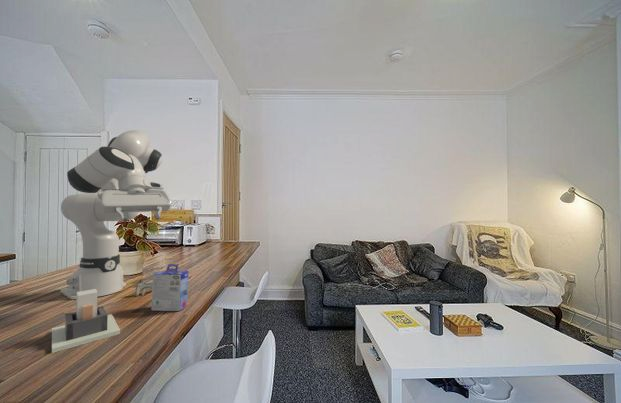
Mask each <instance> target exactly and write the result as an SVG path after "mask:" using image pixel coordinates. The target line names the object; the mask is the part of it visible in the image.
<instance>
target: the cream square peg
mask: <svg viewBox="0 0 621 403" xmlns="http://www.w3.org/2000/svg"><path fill="white" fill-rule="evenodd" d="M97 294H98V292H97V290H96V289H91V290H86V291H80V292H77V299H76V305H75V306H76V309H75V310H76V311H75V312H76V320H78V321H81V320H85V319H89V318H93V317H96V315H97V307H98V297H97Z"/></svg>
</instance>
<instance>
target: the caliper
mask: <svg viewBox="0 0 621 403" xmlns="http://www.w3.org/2000/svg"><path fill="white" fill-rule="evenodd" d="M152 282H153V281H146V280H145V279H142V280H141V279H140V280H139V282H137V283H136V287H135V296H136V297H139V294H140V296H144V295H145V293H147V292H146V291H147V289H149V290H152ZM140 291H141V292H140Z"/></svg>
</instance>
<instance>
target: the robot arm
mask: <svg viewBox="0 0 621 403" xmlns="http://www.w3.org/2000/svg"><path fill="white" fill-rule="evenodd" d="M162 161H163V157H162V153H161V152H160V151H159V150H157V149H155V148H154V149H153V148H152V147H150V139H149V136H148V135H147V134H146V133H145V132H143V131H140V130H138V129H137V130H127V131H124V132H122V133H121V134H119V135H118V136H115V137H113V138H111V139H110V141H108V144H107V146H101V147H98V149H96V150H95V151H94V152H92V153H91V154H90V155H89V156H87V157H86V158H84V159H83V160H82V161H80V162H79V163H78V164H77V165H76V166H73V168H71V169H70V170H68V171H67V173H66V176H67V181H68V183H69V185H70V186H71V188H72V189H74V190H76V191H77V192H80V193H79V194H78V193H77V194H71V195H67V196H65V198H64V199H63V200H62V202H61V204H60V211H61V214H62V215H63V216H64V218H65V219H67V220H68V221H70V222H72V223H73V224H74V225H75V226H76V228H77V229H78V231H79V232H80V235H81V239H82V257H81V258H79V260H80V261H79V267H78V268H77V269H76V270H75V271H74V272H73V273H72V274H71V275H70V276H69V278H68V279H66V286H67V287H63V288H61V289H60V290H59V291H60V293H61V294H62V293H63V294H62V295H63V296H65V297H66V296H67V298H68V299H70V300H77V292H80V291H86V290H91V289H96V290H97V292H98V294H97V298H98V297H103V296H107V295H112V294H115V293H117V292H120V291H122V290H123V289H124V287H125V286H127V282H125V281H124V273H123V272H124V271H123V266H121V265H120V262H121V255H120V252H119V251H120V250H119V249H120V247H119V246H120V238H119V235H118V233H116V232H115V231H112V230H110V229H109V228H108V227H106V225H105V222H128V221H130V220H134V219H135V218H136V217H137V216H138V215H139V214H140V213H142V212H144V213H145V212H154V216H153V217H154V220H160V219H161V214H162V212H167V211H170V209H171V207H172V203H173V202H172V199H171V197H170V195H169V194H168V192H167V191H166V190H164V185H163V184H161V183H158V182H154V181H150V180H147V178H146V174H148V173H149V172H153V171H155V170H157V169H158V168H159V167H160V166H161V164H162Z"/></svg>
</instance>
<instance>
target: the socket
mask: <svg viewBox="0 0 621 403" xmlns="http://www.w3.org/2000/svg"><path fill="white" fill-rule="evenodd" d="M120 334H121V329H120V327H119V325H118V323H117V321H116V320H115V317H114V316H113V314H112V313H110V314H108V313H107V311H106V309H105V307H104V305H102V306H97V315H96V317H93V318H89V319H85V320H81V321H78V320H76V311H75V312H74V311H73V312H70V313H65V319H64V325H60V326H55V327H52V328H51V354H55V353H56V352H60V351H64V350H67V349H71V348H75V347H78V346H81V345H85V344H89V343H93V342H97V341H99V340H104V339H107V338H109V337H110V338H111V337H114V336H117V335H120Z"/></svg>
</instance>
